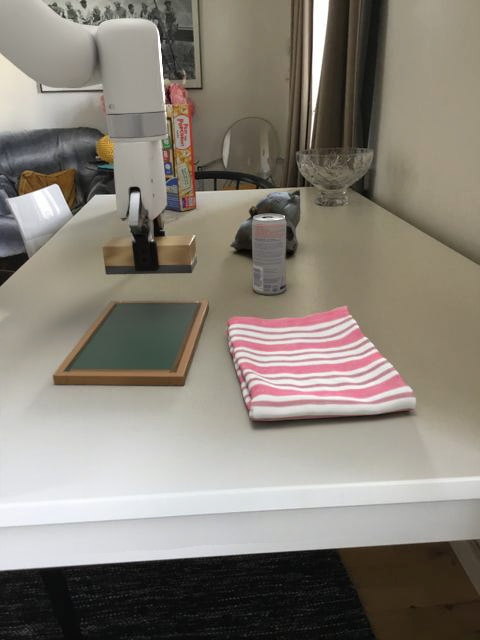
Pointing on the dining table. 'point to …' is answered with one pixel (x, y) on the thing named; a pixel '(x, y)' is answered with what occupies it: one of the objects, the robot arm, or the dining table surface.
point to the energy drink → (269, 253)
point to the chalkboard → (137, 345)
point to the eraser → (172, 255)
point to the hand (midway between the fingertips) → (151, 262)
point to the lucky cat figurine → (273, 205)
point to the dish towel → (313, 368)
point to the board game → (179, 158)
